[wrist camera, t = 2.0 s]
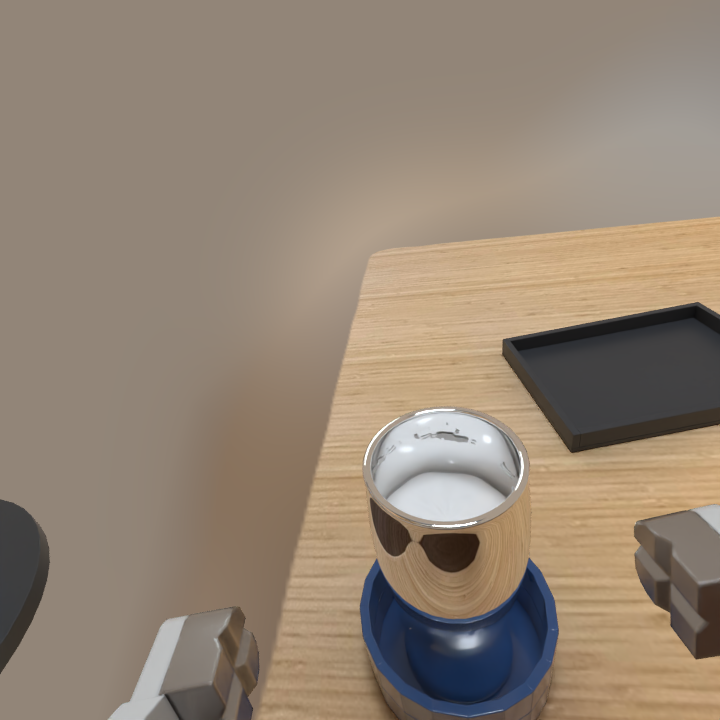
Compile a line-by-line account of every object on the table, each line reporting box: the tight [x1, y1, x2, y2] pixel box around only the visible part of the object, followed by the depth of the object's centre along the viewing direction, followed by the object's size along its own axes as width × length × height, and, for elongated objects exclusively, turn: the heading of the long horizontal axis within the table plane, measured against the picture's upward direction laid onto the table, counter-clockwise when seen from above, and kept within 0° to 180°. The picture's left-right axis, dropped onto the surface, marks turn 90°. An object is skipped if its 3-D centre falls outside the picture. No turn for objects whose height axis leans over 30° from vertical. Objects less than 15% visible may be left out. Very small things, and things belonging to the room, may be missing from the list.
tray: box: [502, 302, 720, 452], centre depth 43 cm, size 21×15×2 cm
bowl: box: [360, 558, 559, 720], centre depth 26 cm, size 10×10×4 cm
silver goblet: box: [363, 406, 531, 704], centre depth 23 cm, size 7×7×15 cm
